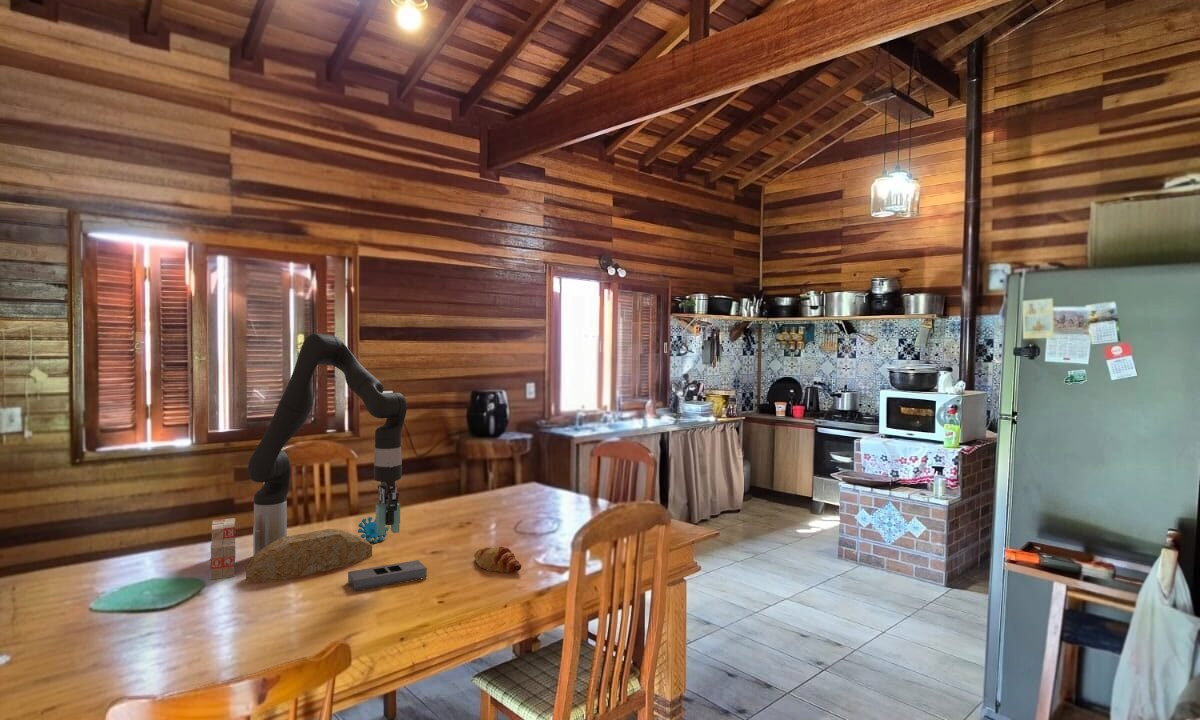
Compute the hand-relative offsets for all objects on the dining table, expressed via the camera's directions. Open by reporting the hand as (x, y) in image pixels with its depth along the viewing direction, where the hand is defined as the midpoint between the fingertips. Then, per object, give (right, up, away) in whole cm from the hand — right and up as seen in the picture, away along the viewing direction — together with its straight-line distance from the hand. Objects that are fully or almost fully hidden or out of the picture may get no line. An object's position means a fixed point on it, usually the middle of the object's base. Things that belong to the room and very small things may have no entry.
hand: (387, 522), depth 190 cm
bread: (-26, -16, +11) cm, 33 cm away
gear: (-17, -16, +38) cm, 44 cm away
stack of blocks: (-52, -16, +10) cm, 56 cm away
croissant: (+29, -17, +13) cm, 36 cm away
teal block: (0, -3, 0) cm, 3 cm away
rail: (0, -16, 0) cm, 16 cm away
